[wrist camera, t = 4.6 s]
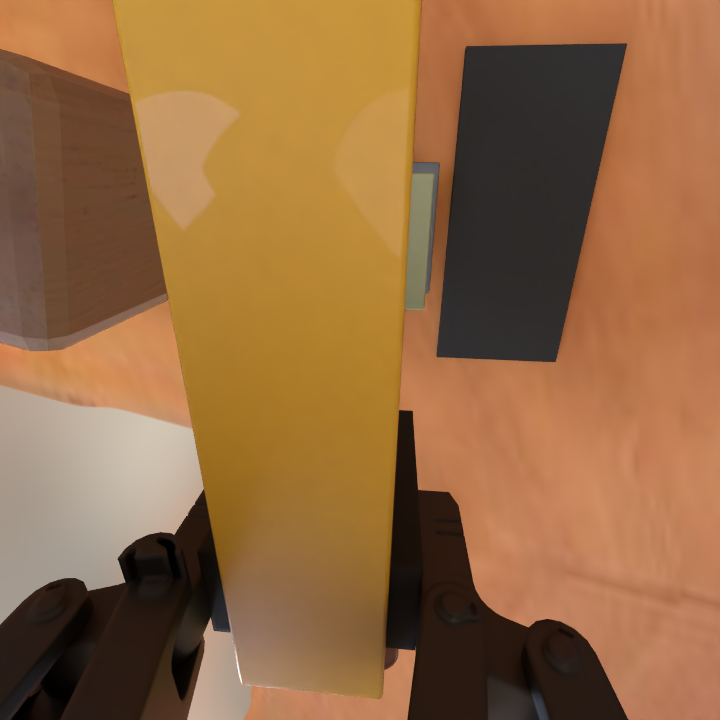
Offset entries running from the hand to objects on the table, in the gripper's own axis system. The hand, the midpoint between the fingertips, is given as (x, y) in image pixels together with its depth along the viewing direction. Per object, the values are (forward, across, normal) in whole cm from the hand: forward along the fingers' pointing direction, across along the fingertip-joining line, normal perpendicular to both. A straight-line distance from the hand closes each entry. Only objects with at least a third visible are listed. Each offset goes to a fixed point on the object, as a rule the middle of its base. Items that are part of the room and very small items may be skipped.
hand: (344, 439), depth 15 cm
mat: (+20, +11, +6) cm, 24 cm away
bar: (-3, 0, +6) cm, 7 cm away
